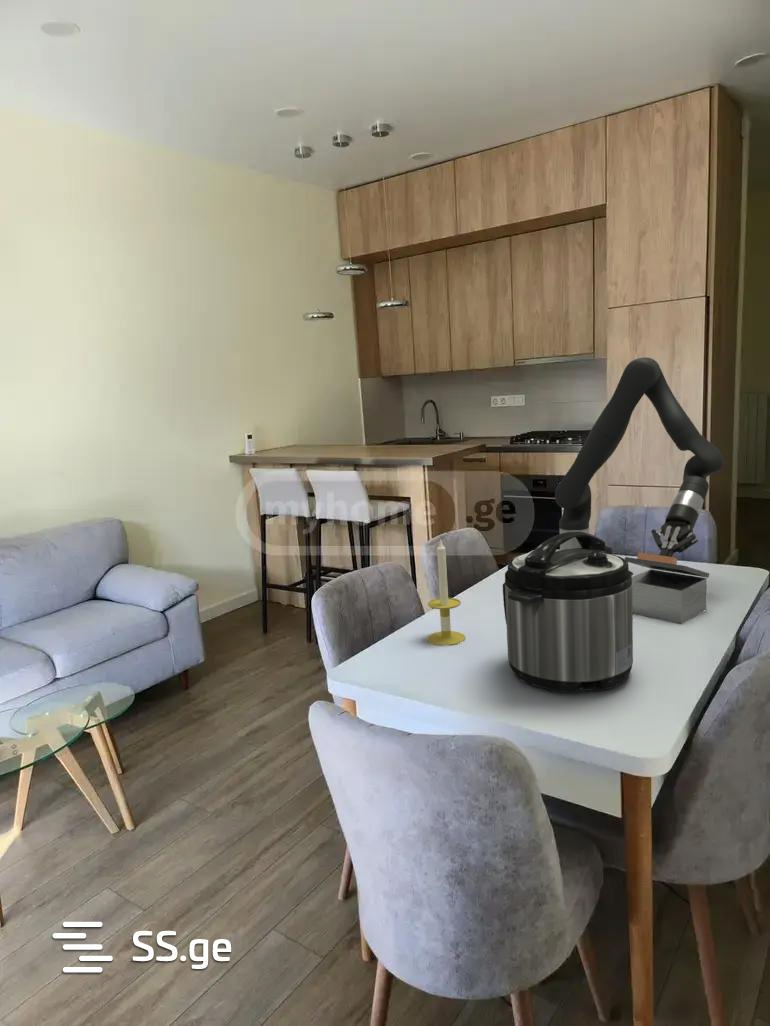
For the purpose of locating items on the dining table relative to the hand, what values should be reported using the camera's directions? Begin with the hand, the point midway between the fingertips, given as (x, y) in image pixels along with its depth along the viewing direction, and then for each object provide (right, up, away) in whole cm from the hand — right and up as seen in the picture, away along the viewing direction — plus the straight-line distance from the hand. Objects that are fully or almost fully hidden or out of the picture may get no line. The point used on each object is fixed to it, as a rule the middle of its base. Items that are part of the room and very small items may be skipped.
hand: (662, 562), depth 181 cm
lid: (+2, -2, +1) cm, 3 cm away
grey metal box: (+2, -14, +3) cm, 14 cm away
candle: (-59, -20, -5) cm, 62 cm away
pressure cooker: (-34, -22, -30) cm, 51 cm away
